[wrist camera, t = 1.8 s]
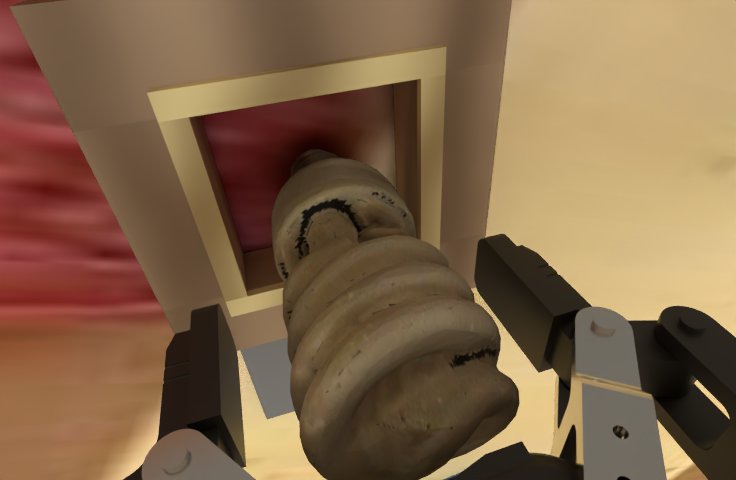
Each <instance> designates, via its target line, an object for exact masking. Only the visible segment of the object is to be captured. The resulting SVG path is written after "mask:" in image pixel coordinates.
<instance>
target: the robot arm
mask: <svg viewBox="0 0 736 480" xmlns="http://www.w3.org/2000/svg"><path fill="white" fill-rule="evenodd" d="M474 280H475V285H476V288H477V290H478V292H479V294H480V295H481V297H482V298H483V299H484V301H485V302H486V303H487V305H488V306H489V307H490V309H491V310H492V311H493V313H494V314H495V315H496V316H497V318H498V319H499V320H500V322H501V323H502V324H503V326H504V327H505V328H506V330H507V331H508V332H509V334H510V335H511V336H512V338H513V339H514V340H515V342H516V343H517V344H518V346H519V347H520V348H521V350H522V351H523V352H524V354H525V355H526V356H527V358H528V359H529V360H530V362H531V363H532V364H533V366H534V367H535V368H536V370H537V371H538V372H542V371H545V370H548V369H551V368H553V369H554V371H555V372H556V373H557V377H556V383H555V414H554V438H553V445H552V450H551V455H547V454H541V453H529V452H528V451H527V449H526V447H525V446H524V444H523V443H522V441H521V442H519V443H516V444H513V445H510V446H508V447H505V448H502V449H499V450H496V451H494V452H491V453H488V454H485V455H484V456H483V457H481V458H480V459H479V460H477V461H476V462H475V463H473V464H472V465H471V466H469V467H468V468H467V469H465V470H464V471H463V472H461V473H460V474H459V475H457V476H456V477H455V478H453V479H450V480H667V478H666V472H665V466H664V460H663V454H662V448H661V442H660V436H659V430H658V424H657V420H658V421H659V422H660V423H661V424H662V425H663V427H664V428H665V429H666V430H667V431H668V433H669V434H670V435H671V436H672V437H673V438H674V440H675V441H676V442H677V443H678V444H679V445H680V447H681V448H682V449H683V450H684V451H685V453H686V454H687V455H688V456H689V457H690V458H691V460H692V461H693V462H694V463H695V464H696V466H697V467H698V468H699V469H700V470H701V471H702V473H703V474H704V475H705V476H706V477H707V479H708V480H736V337H734V336H733V335H732V334H731V333H729V332H728V331H727V330H726V329H725V328H723V327H722V326H721V325H720V324H719V323H717V322H716V321H715V320H714V319H712V318H711V317H710V316H708V315H707V314H705V313H703V312H701V311H699V310H696V309H693V308H689V307H684V306H672V307H668V308H666V309H664V310H663V311H662V313H661V315H660V317H659V319H658V321H627V320H626V319H625V318H624V317H623V316H621V315H620V314H618V313H616V312H614V311H612V310H610V309H607V308H602V307H592V306H591V305H590V304H589V303H588V302H587V301H586V300H585V299H584V298H583V297H582V296H581V295H580V294H579V293H578V292H577V291H576V290H575V289H574V288H573V287H572V286H571V285H570V284H568V283H567V282H566V281H565V280H564V279H563V278H562V277H561V276H560V275H558V274H557V272H556V271H555V270H554V269H553V268H552V267H551V266H549V265H548V263H547V262H546V261H545V260H544V259H543V258H542V257H541V256H540V255H539V254H538V253H536V252H534V251H532V250H530V249H528V248H526V247H524V246H523V245H521V246H516V245H515V244H514V243H513V242H512V241H511V240H510V239H509V238H508V237H507V236H506V235H505V234H499V235H495V236H491V237H487V238H483V239H480V240H479V241H478V245H477V254H476V263H475V272H474ZM696 380H698V381H699V382H700V383H701V384H702V385H703V386H704V387H705V388H706V389H707V390H708V391H709V392H710V393H711V394H712V395H713V396H714V397H715V398H716V399H717V400H718V401H719V402H720V403H721V404H722V405H723V406H724V407H725V409H726V410H727V412H728V414H729V417H730V420H729V419H728V418H727V416H726V415H725V414H724V413H723V412H722V411H721V410H720V409H719V408H718V407H717V406H716V405H715V404H714V403H713V402H712V401H711V400H710V399H709V398H708V397H707V396H706V395H705V394H704V393H703V392H702V391H701V390H700V389H699V388H698V387H697V386H696V385H695V384H694V383H695V381H696ZM243 467H246V459H245V446H244V433H243V420H242V407H241V394H240V380H239V367H238V357H237V351H236V346H235V343H234V339H233V337H232V334H231V331H230V329H229V326H228V323H227V321H226V318H225V315H224V313H223V310H222V308H221V306H220V304H215V305H211V306H207V307H203V308H199V309H194V310H192V311H191V323H190V330H188V331H184V332H180V333H176V334H175V336H174V337H173V339H172V341H171V343H170V344H169V346H168V348H167V350H166V359H165V370H164V384H163V392H162V403H161V413H160V424H159V434H158V440H157V443H156V444H155V445H154V446H153V447H152V448H151V450H150V451H149V452H148V454H147V456H146V458H145V460H144V462H143V464H142V465H141V466H140V467H139V468H138V469H137V470H136V471H135V472H134V473H132V474H131V475H129V476H128V477H126V478H125V479H123V480H256V479H254V478H253V477H252V476H251V475H250V474H249V473H247V472H246V471H245V470H244V469H243Z"/></svg>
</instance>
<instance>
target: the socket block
mask: <svg viewBox="0 0 736 480" xmlns="http://www.w3.org/2000/svg"><path fill="white" fill-rule="evenodd" d="M511 1H512V0H25V1H23V2H20V3H17V4H15V5H12V6H10V9H11V11H12V13H13V15H14V17H15V19H16V21H17V23H18V25H19V27H20V29H21V31H22V33H23V35H24V37H25V39H26V41H27V43H28V45H29V47H30V49H31V51H32V53H33V54H34V56H35V58H36V60H37V62H38V64H39V66H40V68H41V70H42V72H43V74H44V76H45V78H46V80H47V82H48V84H49V86H50V88H51V90H52V92H53V94H54V96H55V98H56V100H57V102H58V104H59V106H60V108H61V110H62V112H63V114H64V116H65V118H66V120H67V122H68V124H69V126H70V128H71V130H72V132H73V134H74V136H75V138H76V140H77V142H78V144H79V145H80V147H81V149H82V151H83V153H84V155H85V157H86V159H87V161H88V163H89V165H90V167H91V169H92V171H93V173H94V175H95V177H96V179H97V181H98V183H99V185H100V187H101V189H102V191H103V193H104V195H105V197H106V199H107V201H108V203H109V205H110V207H111V209H112V211H113V213H114V215H115V217H116V219H117V221H118V223H119V225H120V227H121V229H122V231H123V233H124V235H125V236H126V238H127V240H128V242H129V244H130V246H131V248H132V250H133V252H134V254H135V256H136V258H137V260H138V262H139V264H140V266H141V268H142V270H143V272H144V274H145V276H146V278H147V280H148V282H149V284H150V286H151V288H152V290H153V292H154V294H155V296H156V298H157V300H158V302H159V304H160V306H161V308H162V310H163V312H164V314H165V316H166V318H167V320H168V322H169V324H170V326H171V328H172V329H173V331H174V333H175V334H176V333H180V332H184V331H188V330H190V323H191V311H192V310H194V309H199V308H203V307H207V306H211V305H215V304H220V306H221V308H222V310H223V313H224V315H225V318H226V321H227V323H228V326H229V329H230V331H231V334H232V337H233V339H234V343H235V346H236V351H238V350H242V349H246V348H250V347H253V346H257V345H261V344H265V343H268V342H272V341H276V340H280V339H283V338H287V337H288V332H287V329H286V326H285V322H284V319H283V289H284V286H285V283H284V281H283V280H282V278H281V277H280V275H279V273H278V271H277V267H276V263H275V259H274V251H273V247H269V248H265V249H260V250H256V251H252V252H247V253H243V250H242V247H241V243H240V240H239V237H238V234H237V231H236V227H235V224H234V221H233V218H232V214H231V211H230V208H229V205H228V202H227V198H226V195H225V192H224V189H223V186H222V182H221V179H220V176H219V173H218V170H217V166H216V163H215V160H214V157H213V154H212V150H211V147H210V144H209V141H208V138H207V134H206V131H205V128H204V125H203V122H202V118H201V115H206V114H212V113H218V112H224V111H230V110H236V109H242V108H248V107H254V106H260V105H266V104H272V103H278V102H284V101H290V100H296V99H302V98H308V97H314V96H320V95H326V94H332V93H338V92H344V91H350V90H356V89H362V88H368V87H374V86H380V85H386V84H392V83H393V98H394V125H395V152H396V179H397V193H398V194H399V195H400V197H401V198H402V199H403V200H404V202H405V203H406V206H407V208H408V209H409V211H410V213H411V214H412V216H413V219H414V223H415V229H416V238H417V239H420V240H422V241H425V242H428V243H430V244H431V245H433V246H434V247H436V248H437V249H438V250H439V251H441V252H442V254H443V255H444V256H445V257H446V259H447V260H448V263H449V267H450V268H451V269H453V270H454V271H456V272H457V273H458V274H460V275H461V276H462V277H463V278H464V279H465V280H466V281H467V283H468V285H469V286H470V288H475V287H476V285H475V280H474V272H475V263H476V254H477V245H478V241H479V240H480V239H483V238H485V235H486V226H487V217H488V208H489V199H490V190H491V181H492V172H493V163H494V154H495V145H496V136H497V127H498V118H499V109H500V100H501V91H502V82H503V73H504V64H505V55H506V46H507V37H508V28H509V19H510V10H511Z"/></svg>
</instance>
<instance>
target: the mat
mask: <svg viewBox="0 0 736 480" xmlns="http://www.w3.org/2000/svg"><path fill="white" fill-rule="evenodd" d="M241 353H242V356H243V358H244V361H245V363H246V366H247V369H248V371H249V374H250V376H251V379H252V382H253V384H254V387H255V389H256V392H257V395H258V397H259V400H260V402H261V405H262V408H263V410H264V413H265V416H266V418H267V419H270V418H273V417H276V416H280V415H283V414H286V413H290V412H293V411H295V409H294V407H293V403H292V398H291V394H290V374H291V368H292V366H291V363H290V360H289V357H288V337H287V338H283V339H280V340H276V341H272V342H268V343H265V344H261V345H257V346H253V347H250V348H246V349H242V350H241Z"/></svg>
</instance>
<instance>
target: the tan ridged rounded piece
mask: <svg viewBox="0 0 736 480" xmlns="http://www.w3.org/2000/svg"><path fill="white" fill-rule="evenodd" d="M290 170H291V176H290V179H289V180H288V181H287V182H286V183H285V184H284V186H283V187H282V188H281V190H280V192H279V194H278V196H277V198H276V200H275V204H274V208H273V212H272V220H271V224H272V243H273V251H274V259H275V263H276V267H277V271H278V273H279V275H280V277H281V278H282V280H283V281H284V283H285V286H284V289H283V319H284V322H285V326H286V329H287V332H288V357H289V360H290V363H291V366H292V368H291V374H290V394H291V398H292V403H293V407H294V409H295V412H296V415H297V418H298V420H299V421H300V439H301V443H302V447H303V450H304V452H305V454H306V457H307V459H308V461H309V462H310V463H311V465H312V466H313V467H314V468H315V469H316V470H317V471H318V472H319V473H320V474H321V475H322V476H323V477H324V478H325V479H327V480H419V479H421V478H423V477H426V476H428V475H430V474H431V473H433V472H434V471H436V470H437V469H439V468H440V467H442V466H443V465H445V464H446V463H447V462H448V461H449V460H450V459H453V458H456V457H458V456H461V455H464V454H467V453H468V452H470V451H472V450H474V449H476V448H478V447H480V446H482V445H483V444H485V443H486V442H488V441H489V440H491V439H492V438H493V437H495V436H496V435H497V434H499V433H500V432H501V431H503V430H504V429H505V428H506V427H507V426H508V425H509V423H510V422H511V421H512V420H513V418H514V417H515V416H516V413H517V410H518V407H519V391H518V388H517V386H516V385H515V383H514V382H513V381H512V379H511V378H509V377H508V376H506V375H505V374H503V373H502V372H500V371H499V370H498V369H497V367H496V365H497V360H498V356H499V352H500V339H501V338H500V334H499V330H498V327H497V325H496V323H495V322H494V320H493V318H492V317H491V316H490V315H489V313H488V312H487V311H486V310H485V309H484V308H483V307H481V306H480V305H478V304H477V303H475V301H474V294H473V292H472V290H471V288H470V286H469V285H468V283H467V281H466V280H465V279H464V278H463V277H462V276H461V275H460V274H458V273H457V272H456V271H454V270H453V269H451V268H450V267H449V263H448V260H447V259H446V257H445V256H444V255H443V254H442V252H441V251H439V250H438V249H437V248H436V247H434V246H433V245H431V244H430V243H428V242H425V241H422V240H420V239H417V238H416V229H415V223H414V219H413V216H412V214H411V213H410V211H409V209H408V208H407V206H406V203H405V202H404V200H403V199H402V198H401V197H400V195H399V194H398V193H397V191H396V190H395V189H394V188H393V186H392V185H391V184H390V182H389V181H388V180H387V179H386V178H385V177H384V176H383V175H382V174H381V173H380V172H378V171H377V170H376V169H374V168H372V167H371V166H369V165H367V164H365V163H363V162H361V161H357V160H353V159H344V158H341V157H339V156H338V155H336V154H333V153H330V152H327V151H323V150H320V149H311V150H307V151H305V152H304V153H302V154H301V155H300V156H299V157H298V158H297V159H296V160H295V161H294V162H293V164H292V166H291V168H290Z"/></svg>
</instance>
